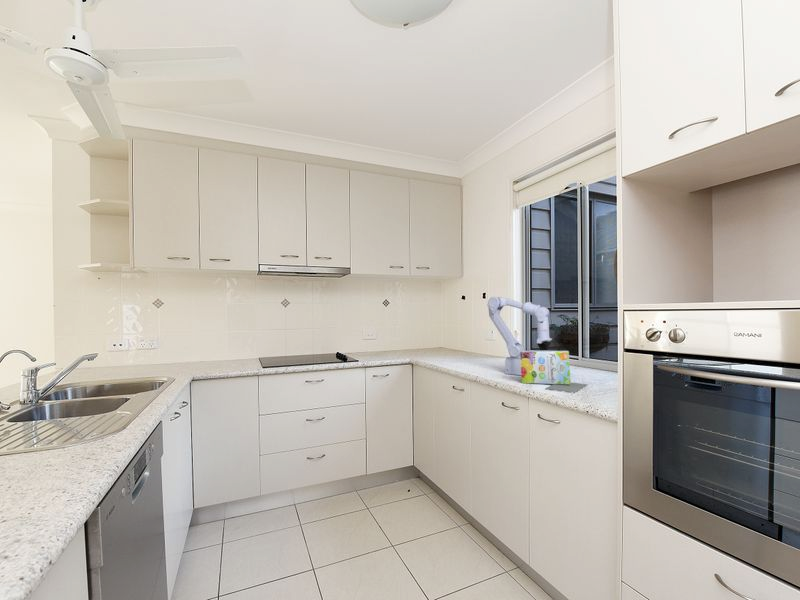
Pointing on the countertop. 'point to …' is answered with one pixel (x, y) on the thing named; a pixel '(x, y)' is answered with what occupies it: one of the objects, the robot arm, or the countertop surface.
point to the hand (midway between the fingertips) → (544, 356)
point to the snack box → (545, 367)
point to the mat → (567, 387)
